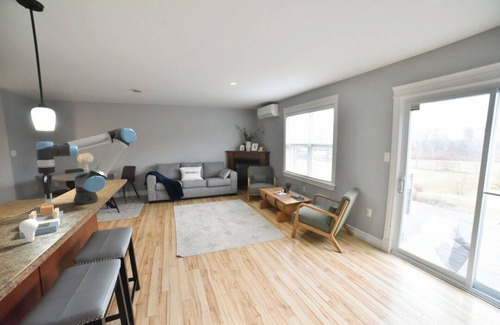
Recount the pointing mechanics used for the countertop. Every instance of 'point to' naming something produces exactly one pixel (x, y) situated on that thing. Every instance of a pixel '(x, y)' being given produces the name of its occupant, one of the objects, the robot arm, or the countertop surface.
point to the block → (46, 210)
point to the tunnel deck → (37, 217)
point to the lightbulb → (29, 229)
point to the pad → (47, 222)
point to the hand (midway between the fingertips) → (49, 203)
